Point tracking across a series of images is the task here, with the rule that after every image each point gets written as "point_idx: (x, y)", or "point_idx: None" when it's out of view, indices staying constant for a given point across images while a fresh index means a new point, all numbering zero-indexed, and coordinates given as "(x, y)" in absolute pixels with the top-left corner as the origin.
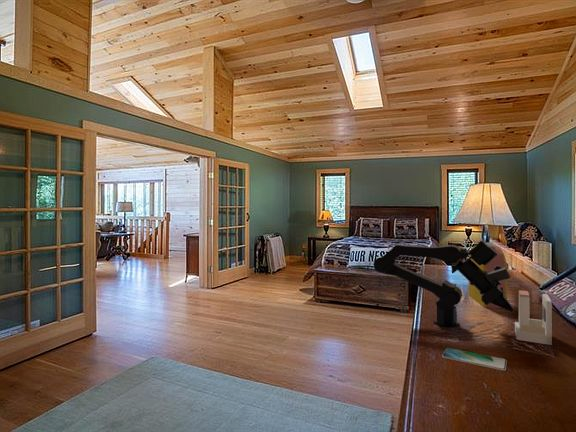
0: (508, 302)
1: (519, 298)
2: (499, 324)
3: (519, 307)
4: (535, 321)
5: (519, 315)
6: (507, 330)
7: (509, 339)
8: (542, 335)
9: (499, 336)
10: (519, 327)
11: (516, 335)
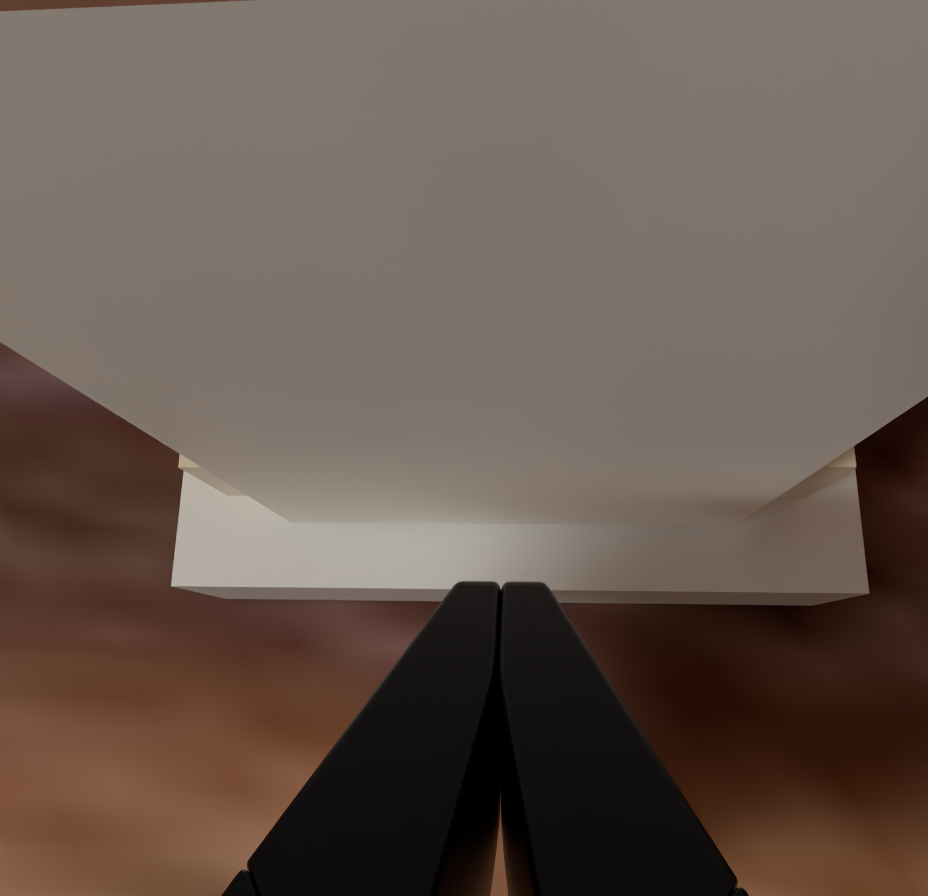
0: (577, 805)
1: (788, 171)
2: (22, 842)
3: (661, 387)
4: None
5: (614, 466)
6: (348, 719)
7: (871, 713)
8: None
9: (799, 876)
10: (536, 525)
11: (840, 599)
